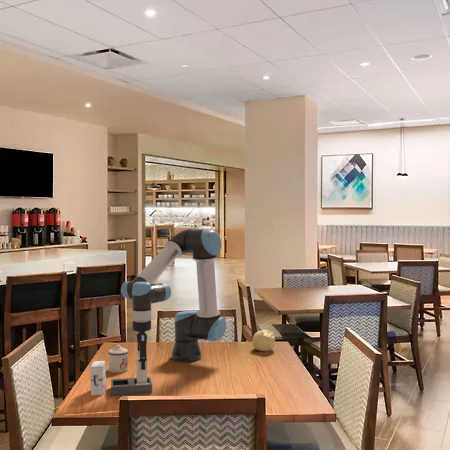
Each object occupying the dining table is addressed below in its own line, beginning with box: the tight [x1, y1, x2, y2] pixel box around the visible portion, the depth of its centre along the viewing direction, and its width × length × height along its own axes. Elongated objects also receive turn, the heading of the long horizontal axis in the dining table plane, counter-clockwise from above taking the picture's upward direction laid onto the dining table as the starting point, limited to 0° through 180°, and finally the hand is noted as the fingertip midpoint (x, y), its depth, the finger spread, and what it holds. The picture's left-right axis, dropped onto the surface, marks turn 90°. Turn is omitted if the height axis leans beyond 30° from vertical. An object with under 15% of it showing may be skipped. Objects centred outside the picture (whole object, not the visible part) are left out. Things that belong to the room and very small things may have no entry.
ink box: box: [89, 360, 107, 396], centre depth 213 cm, size 9×5×12 cm, turn 5°
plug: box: [136, 357, 148, 384], centre depth 215 cm, size 4×4×14 cm
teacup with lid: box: [107, 344, 129, 374], centre depth 244 cm, size 12×9×12 cm
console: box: [110, 376, 153, 397], centre depth 214 cm, size 16×10×4 cm, turn 102°
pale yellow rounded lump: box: [252, 329, 276, 352], centre depth 278 cm, size 12×12×11 cm
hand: (141, 372), depth 215 cm, fingers open, 13 cm apart
